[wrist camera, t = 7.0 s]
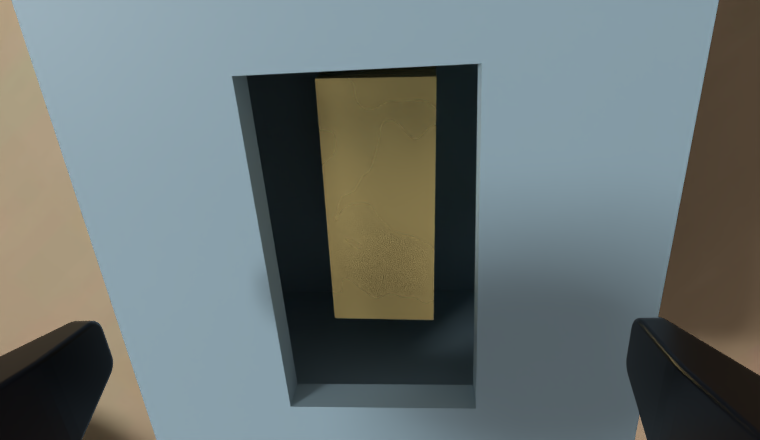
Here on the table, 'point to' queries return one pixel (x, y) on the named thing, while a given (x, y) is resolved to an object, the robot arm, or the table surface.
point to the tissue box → (308, 212)
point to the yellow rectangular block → (379, 189)
